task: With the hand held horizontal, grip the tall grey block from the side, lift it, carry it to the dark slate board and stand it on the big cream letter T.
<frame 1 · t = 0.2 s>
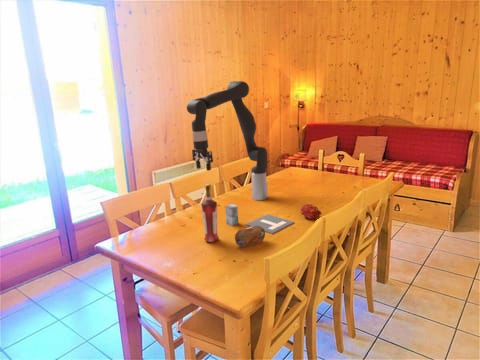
hand: (203, 169, 196), 28 cm above the table, tool pointing down, fingers open, 8 cm apart
grey block: (232, 223, 196), on the table
letter board: (269, 224, 194), on the table
liquor: (211, 240, 177), on the table
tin: (250, 244, 172), on the table
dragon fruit: (310, 218, 199), on the table
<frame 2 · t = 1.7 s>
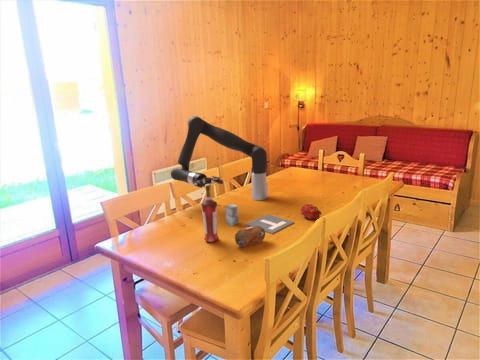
hand: (216, 184, 198), 20 cm above the table, tool horizontal, fingers open, 8 cm apart
nothing on the table moved.
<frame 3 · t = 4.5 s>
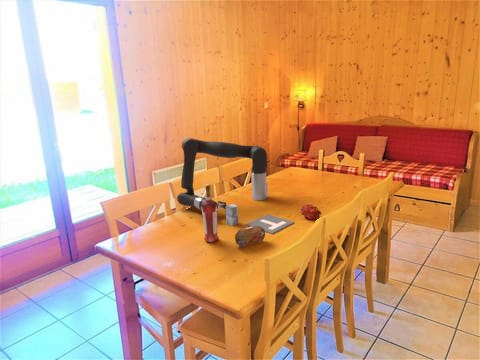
hand: (222, 210, 199), 6 cm above the table, tool horizontal, fingers open, 8 cm apart
nothing on the table moved.
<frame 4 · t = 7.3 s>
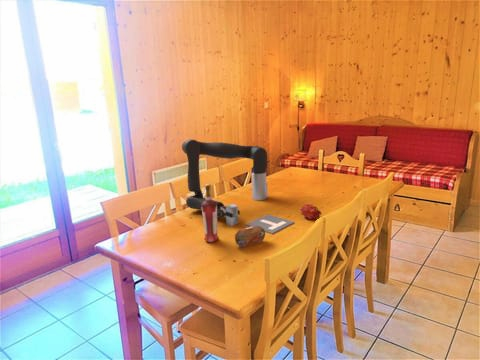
hand: (235, 214, 193), 6 cm above the table, tool horizontal, fingers closed on grey block, 4 cm apart
grey block: (232, 223, 196), on the table, touching gripper
everything else where it was.
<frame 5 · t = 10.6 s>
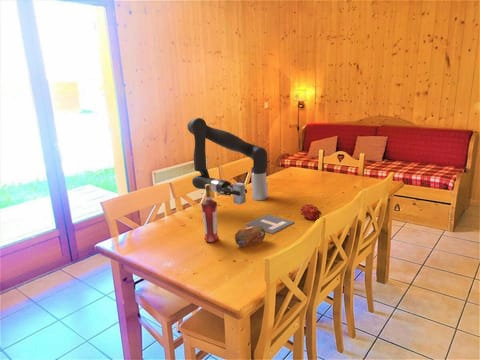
hand: (243, 192, 189), 18 cm above the table, tool horizontal, fingers closed on grey block, 4 cm apart
grey block: (239, 202, 193), point 12 cm above the table, touching gripper
everything else where it was.
when the fingers open (8 cm above the table, at t = 14.4 s): grey block drops 1 cm, resting on letter board.
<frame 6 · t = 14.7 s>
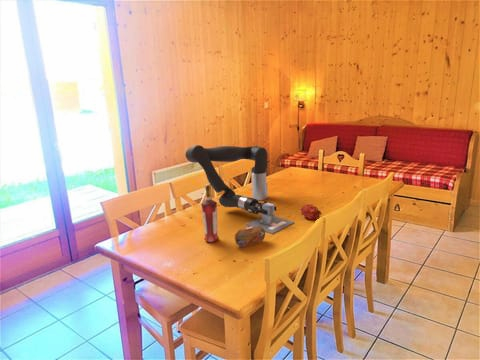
hand: (271, 210, 191), 8 cm above the table, tool horizontal, fingers open, 6 cm apart
grey block: (268, 222, 194), point 1 cm above the table, touching letter board
everything else where it was.
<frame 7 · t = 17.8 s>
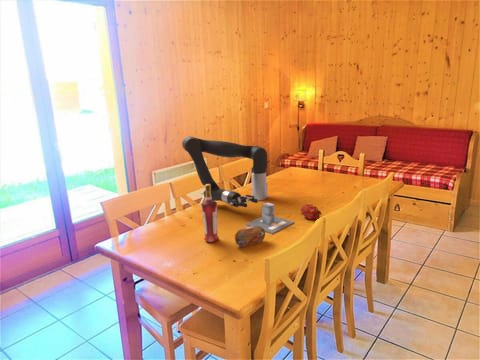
hand: (252, 203, 200), 9 cm above the table, tool horizontal, fingers open, 8 cm apart
nothing on the table moved.
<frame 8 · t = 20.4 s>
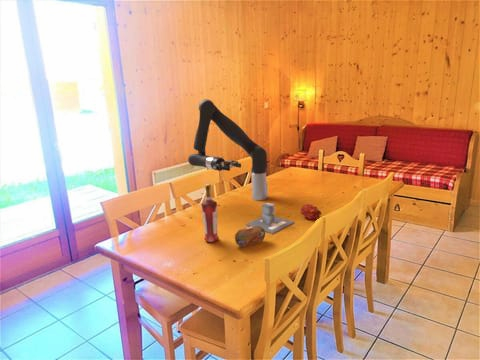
hand: (235, 167, 200), 28 cm above the table, tool horizontal, fingers open, 8 cm apart
nothing on the table moved.
at the end: grey block inside the target area on the letter board (0.0 cm from its centre), point 0.6 cm above the letter board's base; grey block tilted 0°; the gripper is holding nothing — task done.
